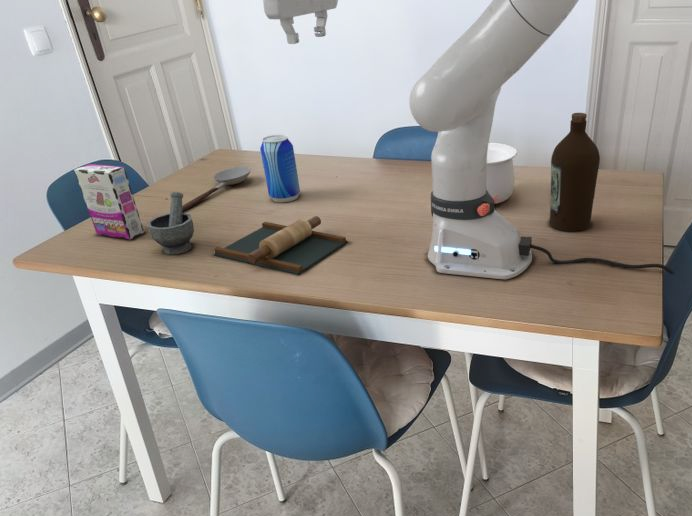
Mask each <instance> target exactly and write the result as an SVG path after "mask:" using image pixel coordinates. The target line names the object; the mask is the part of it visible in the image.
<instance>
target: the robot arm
mask: <svg viewBox="0 0 692 516" xmlns="http://www.w3.org/2000/svg"><path fill="white" fill-rule="evenodd" d="M338 1H339V0H262V3H263V11H264V14H265V16H266V17H267V19H269V20H279V23H280V26H281V28H282V30H283V31H284V33H285V35H286V41H287V43H288V44H289V45H295V44H298V43H300V38H299V37H300V35H299V32H296V30H295V28H294V25H293V24H295V21H294V18H295V17H300V16H305V15H310V14H314V17H315V18H316V21H315V26H314V27H313V31H314V36H315V37H316V38H321V37H322V38H323V37H325V36H326V35H327V32H326V25H327V20H328V11H329V10H334V9H336V8H337V6H338V4H339V3H338ZM578 2H579V0H492V1H491V2H490V3H489V5H488V6H487V7H486V8H485V9H484V11H483V12H482V13H481V14H480V16H479V17H478V18H476V20H475V22H474V23H473V24H472V25H471V26H470V27H469V28H468V29H467V30H466V31H465V32H464V33H462V34H461V35H460V36H459V38H457V39H456V41H455V42H453V44H451V45H450V47H449V48H448V49H447V50H445V51H444V52H443V54H442V55H441V56H440V57H438V59H437V60H436V61H435V62H434V63H433V64H432V65H431V67H429V69H428V70H427V71H426V72H425V73H424V74H423V75H422V76H421V77H420V78H419V79H418V80H417V81H416V82H415V83H414V84H413V86H412V88H411V90H410V93H409V98H408V99H409V110H410V112H411V116H412V117H413V119H414V120H415V122H416V124H418V126H420V127H421V128H422V129H424V130H426V131H428V132H433V133H437V136H436V140H435V143H434V146H433V148H432V151H431V157H430V159H431V160H430V162H431V163H430V164H431V182H432V184H431V187H432V188H431V189H432V190H431V192H430V212H431V216H432V225H431V226H432V229H431V235H430V236H431V237H430V244H429V248H428V252H427V259H428V261H429V262H430V263H431V264H433V265H434V266H435V270H436V272H438V273H439V274H448V275H457V276H465V277H476V278H478V277H479V278H485V279H486V278H487V279H495V280H510V279H512V278H515V277H517V276H519V275H521V274H522V273H523V272H524V271H526V269H528V267H529V266H530V265H531V263H532V261H533V253H532V249H533V250H537V251H540V252H542V253H544V254H545V255H547V257H548V259H549V261H550V262H551V263H553V264H556V265H567V264H578V263H582V262H595V263H601V264H607V265H611V266H615V267H620V268H624V269H635V270H637V269H649V268H658V269H662V270H665V271H666V272H668V273H669V274H670V275H675V272H674V270H673V269H672V268H670V267H669V266H668V265H665V264H662V263H644V264H643V263H642V264H629V263H623V262H618V261H613V260H609V259H604V258H599V257H598V258H597V257H581V258H575V259H571V260H558V259H555V258H554V257H553V255H552V253H551V252H550V251H549V250H548V249H546V248H545V247H541V246H538V245H535V244H532V239H533V238H532V236H521V233H520V231H519V229H518V227H516V226H515V225H513V224H512V223H511V222H510V221H509V220H507V218H505V217H504V216H503V215H502V214H501V213H499V212H498V210H496V208H495V205H496V204H494V203H495V202H496V201H497V200H498V199H497V197H498V195H496V196H495V197H494V198H492V197H491V196H490V194H489V193H488V191H487V189H486V179H487V151H488V143H489V141H490V138H491V132H492V128H493V121H494V115H495V108H496V104H497V100H498V98H499V96H500V93H501V89H502V86H504V85H505V83H506V82H508V80H510V79H511V78H512V77H513V76H514V75H516V74H517V73H518V72H519V71H520V70H521V68H523V67H524V65H525V64H526V63H527V62H529V60H530V59H531V58H532V57H533V55H535V53H537V51H538V50H539V49H540V48H541V47H542V46H543V45H544V44H545V42H546V41H548V40H549V38H550V37H552V35H553V34H554V33H555V32H556V30H557V29H558V28H559V27H560V26H561V25H562V23H563V22H565V20H566V19H567V18H568V16H569V15H570V14H571V12H572V11H573V10H574V8H575V7H576V5H577V4H578Z"/></svg>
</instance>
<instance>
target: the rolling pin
mask: <svg viewBox="0 0 692 516" xmlns="http://www.w3.org/2000/svg"><path fill="white" fill-rule="evenodd" d="M321 224H322V219H321V218H320V217H319V216H318V215H314V216H313V217H311V218H309V219H308V220H306V219H304V218H300V219H298V220H296V221H294V222H292V223H290V224H288V225H286V226H287V227H285V228H283V229H282V230H280V231H278V232H276V233H275V234H273V235H271V236H269V237H267V238H266V239H264V240H262V241H261V242H260V244H259V249H257V250H255V251H254V252H252V253H250V254H248V260H249V262H250V263H252V264H251V265H253V264H254V263H256V262H258V261H259V260H261V259H263V258H264V257H266V258H270V259H273V258H275V257H276V256H278V255H280V254H281V253H283V252H285V251H286V250H288V249H290V248H291V247H293V246H294V245H296V244H298V243H299V242H301V241H303V240H304V239H306V238H308V237H309V236H311V234H312V231H313V229H315V228H317V227H318V226H320V225H321Z"/></svg>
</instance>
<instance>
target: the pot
mask: <svg viewBox="0 0 692 516" xmlns="http://www.w3.org/2000/svg"><path fill="white" fill-rule="evenodd" d="M517 155H518V152H517V149H516V148H515V147H513V146H511V145H508V144H506V143H505V144H504V143H500V142H489V143H488V151H487V179H486V189H487V191H488V193H489V194H490V196H491V197H492V198H494V197H495V196H496V195H498V197H497V199H498V200H497V201H496V202H495V203H494V205H496V204H500V203H503V202H505V201H507V200H509V198H510V197H511V196H512V195H513V191H514V188H515V168H514V160H513V159H515V157H516V156H517Z"/></svg>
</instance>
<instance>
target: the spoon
mask: <svg viewBox="0 0 692 516" xmlns="http://www.w3.org/2000/svg"><path fill="white" fill-rule="evenodd" d="M251 171H252V168H251V167H249V166H237V167H231V168H227V169H224V170H222V171H219V172H217V173H215V174H214V175H213V176H212V178H213V180H214V181H215V182H218V184H217V185H216V186H214V187H212V188H211V189H209V190H208V191H205V192H203V193H202V194H200V195H198V196H196V197H194V198H193V199H191V200H190V201H188V202H187V203H186V202H185V204H182V212H185V211H186V210H189V209H190V208H192V207H194V206H196V205H197V204H199V203H201V202H203V201H204V200H205V199H207V198H208V197H209V196H210V195H212V194H213V193H215V192H216V191H218V190H220V189H223V188H224V187H225V186H232V185H233V186H234V185H237V184H238V185H239V184H240V183H241V182H243V181H245V180H246V179H247V178H248V176H249V175H250V173H251Z"/></svg>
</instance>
